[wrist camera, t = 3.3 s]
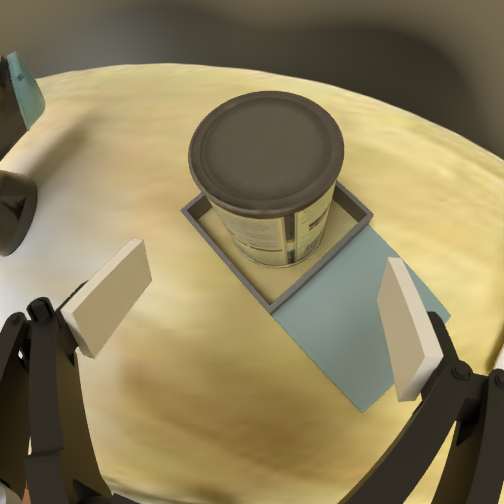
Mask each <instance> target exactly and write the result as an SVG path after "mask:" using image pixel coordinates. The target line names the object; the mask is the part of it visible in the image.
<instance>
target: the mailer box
mask: <svg viewBox="0 0 504 504" xmlns="http://www.w3.org/2000/svg"><path fill="white" fill-rule="evenodd" d="M332 198H333V199H334V200H335V201H336V202H337V203H338V204H339V205H340V206H342V207H343V208H344V209H345V210H346V211H347V212H348V213H349V214H350V215H351V216H352V217H353V218H354V219H355V220H356V221H357V222H358V224H357V225H356V226H355V227H354V228H353V229H352V230H351V231H350V232H349V233H348V234H347V235H346V236H345V237H344V238H343V239H342V240H341V241H339V242H338V243H337V244H336V245H335V246H334V247H333V248H332V249H331V250H330V251H329V252H328V253H327V254H326V255H325V256H324V257H323V258H322V259H321V260H319V261H318V262H317V263H316V264H315V265H314V266H313V267H312V268H311V269H310V270H309V271H308V272H307V273H306V274H304V275H303V276H302V277H301V278H300V279H299V280H298V281H297V282H296V283H295V284H294V285H292V286H291V287H290V288H289V289H288V290H287V291H286V292H285V293H284V294H282V295H281V296H280V297H279V298H278V299H277V300H276V301H275V302H273V303H272V304H271V305H269V304H268V303H267V302H266V301H265V300H264V299H263V297H262V296H261V295H260V294H259V293H258V292H257V291H256V290H255V289H254V287H253V286H252V285H251V284H250V283H249V282H248V281H247V279H246V278H245V277H244V276H243V275H242V274H241V273H240V272H239V270H238V269H237V268H236V267H235V266H234V265H233V264H232V262H231V261H230V260H229V259H228V258H227V257H226V256H225V254H224V253H223V252H222V251H221V250H220V249H219V248H218V246H217V245H216V244H215V243H214V242H213V241H212V239H211V238H210V237H209V236H208V235H207V234H206V233H205V231H204V230H203V229H202V228H201V227H200V226H199V224H198V223H197V222H196V220H197V219H198V218H199V217H200V216H202V215H203V214H204V213H205V212H206V211H207V210H209V209H210V208H211V207H212V205H211V203H210V202H209V200H208V198H207V197H206V196H205V195H204V194H203V193H202V192H201V193H200V194H199V195H198V196H196V197H195V198H194V199H193V200H192V201H191V202H189V203H188V204H187V205H186V206H185V207H184V208H182V209H181V210H180V211H181V212H182V213H183V214H184V215H185V217H186V218H187V219H188V220H189V221H190V223H191V224H192V225H193V226H194V227H195V229H196V230H197V231H198V232H199V233H200V234H201V236H202V237H203V238H204V239H205V240H206V242H207V243H208V244H209V245H210V246H211V247H212V249H213V250H214V251H215V252H216V253H217V254H218V256H219V257H220V258H221V259H222V260H223V261H224V262H225V264H226V265H227V266H228V267H229V268H230V269H231V271H232V272H233V273H234V274H235V275H236V276H237V277H238V279H239V280H240V281H241V282H242V283H243V284H244V285H245V287H246V288H247V289H248V290H249V291H250V292H251V293H252V295H253V296H254V297H255V298H256V299H257V300H258V301H259V302H260V304H261V305H262V306H263V307H264V308H265V309H266V310H267V311H268V313H269V314H270V315H271V316H272V317H273V318H274V319H275V320H276V321H277V322H278V323H279V324H280V326H281V327H282V328H283V329H284V330H285V331H286V332H287V333H288V334H289V336H290V337H291V338H292V339H293V340H294V341H295V342H296V343H297V344H298V345H299V347H300V348H301V349H302V350H303V351H304V352H305V353H306V354H307V355H308V356H309V357H310V359H311V360H312V361H313V362H314V363H315V364H316V365H317V366H318V367H319V368H320V369H321V370H322V371H323V373H324V374H325V375H326V376H327V377H328V378H329V379H330V380H331V381H332V382H333V383H334V384H335V385H336V386H337V387H338V389H339V390H340V391H341V392H342V393H343V394H344V395H345V396H346V397H347V398H348V399H349V400H350V401H351V402H352V403H353V404H354V405H355V406H356V407H357V408H358V410H359V411H360V412H361V413H363V412H364V411H366V410H367V409H368V408H369V407H370V406H371V405H372V404H373V403H374V402H375V401H376V400H377V399H378V398H379V397H381V396H382V395H383V394H384V393H385V392H386V391H387V390H388V389H389V388H390V387H391V386H392V385H393V384H394V383H395V380H394V375H393V369H392V364H391V359H390V355H389V350H388V345H387V341H386V337H385V332H384V328H383V324H382V320H381V316H380V312H379V308H378V304H377V297H378V293H379V290H380V286H381V282H382V278H383V274H384V270H385V266H386V262H387V258H388V257H394V258H401V257H400V256H399V255H398V254H397V253H396V252H395V251H394V250H393V249H392V248H391V247H390V246H389V245H388V244H387V243H386V242H385V241H384V240H383V239H382V238H381V237H380V236H379V235H378V234H377V233H376V232H375V231H374V230H373V229H372V228H371V227H370V226H369V225H368V223H369V222H370V220H371V219H372V217H373V215H374V214H373V213H372V212H371V211H370V210H369V209H368V208H367V207H366V206H365V205H363V204H362V203H361V202H360V201H359V200H358V199H357V198H356V197H355V196H354V195H353V194H352V193H351V192H349V191H348V190H347V189H346V188H345V187H344V186H343V185H342V184H340V183H339V182H338V181H337V180H336V183H335V188H334V192H333V196H332ZM401 259H402V258H401ZM402 261H403V260H402ZM403 263H404V265H405V267H406V269H407V271H408V273H409V275H410V277H411V279H412V281H413V283H414V285H415V288H416V290H417V292H418V294H419V296H420V299H421V301H422V303H423V305H424V308H425V310H426V311H433V312H436V313H437V314H438V315H439V316H440V317H441V319H442V320H443V322H444V324H445V323H446V322H447V320H448V319H449V318H450V316H451V315H450V314H449V312H448V311H447V310H446V309H445V308H444V306H443V305H442V304H441V303H440V302H439V300H438V299H437V298H436V297H435V296H434V294H433V293H432V292H431V291H430V290H429V289H428V287H427V286H426V285H425V284H424V283H423V282H422V280H421V279H420V278H419V277H418V276H417V275H416V274H415V273H414V272H413V270H412V269H411V268H410V267H409V266H408V265H407V264H406V263H405V262H404V261H403Z"/></svg>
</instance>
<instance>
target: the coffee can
mask: <svg viewBox="0 0 504 504" xmlns="http://www.w3.org/2000/svg"><path fill="white" fill-rule="evenodd" d="M343 159H344V142H343V137H342V133H341V131H340V129H339V126H338V125H337V123H336V122H335V120H334V119H333V118H332V117H331V115H330V114H329V113H328V112H327V111H326V110H324V109H323V108H322V107H321V106H319V105H318V104H316V103H315V102H313V101H311V100H309V99H308V98H305V97H303V96H300V95H296V94H293V93H288V92H281V91H259V92H252V93H248V94H244V95H241V96H238V97H235V98H233V99H230V100H229V101H227V102H225V103H223V104H221V105H220V106H218V107H217V108H215V109H214V110H213V111H211V112H210V113H209V114H208V115H207V116H206V117H205V118H204V119H203V120H202V122H201V123H200V124H199V126H198V127H197V129H196V131H195V132H194V134H193V136H192V139H191V142H190V146H189V152H188V163H189V168H190V173H191V175H192V177H193V180H194V181H195V183H196V185H197V186H198V188H199V189H200V190H201V192H202V193H203V194H204V195H205V196H206V197H207V198H208V200H209V202H210V203H211V205H212V206H213V208H214V209H215V211H216V212H217V214H218V216H219V217H220V219H221V220H222V222H223V224H224V225H225V227H226V228H227V230H228V232H229V233H230V235H231V236H232V238H233V240H234V242H235V244H236V246H237V247H238V249H239V250H240V251H241V252H242V254H243V255H245V256H246V257H247V258H248V259H249V260H251V261H253V262H255V263H257V264H259V265H262V266H265V267H272V268H284V267H289V266H292V265H295V264H298V263H300V262H302V261H304V260H305V259H306V258H308V257H309V256H310V255H311V254H312V253H313V252H314V251H315V250H316V248H317V247H318V245H319V244H320V242H321V239H322V237H323V234H324V229H325V223H326V220H327V216H328V212H329V208H330V204H331V200H332V196H333V192H334V188H335V183H336V179H337V177H338V175H339V172H340V170H341V167H342V163H343Z"/></svg>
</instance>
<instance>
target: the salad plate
mask: <svg viewBox="0 0 504 504" xmlns="http://www.w3.org/2000/svg"><path fill="white" fill-rule="evenodd" d="M496 368H499V369H503V370H504V344H503V346H502V348H501V350H500V352H499V354H498V357H497V359H496V361H495V364H494V367H493V369H496Z"/></svg>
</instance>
